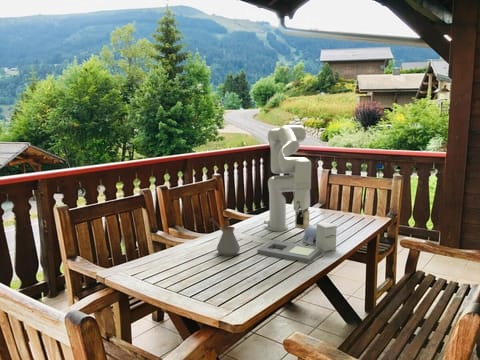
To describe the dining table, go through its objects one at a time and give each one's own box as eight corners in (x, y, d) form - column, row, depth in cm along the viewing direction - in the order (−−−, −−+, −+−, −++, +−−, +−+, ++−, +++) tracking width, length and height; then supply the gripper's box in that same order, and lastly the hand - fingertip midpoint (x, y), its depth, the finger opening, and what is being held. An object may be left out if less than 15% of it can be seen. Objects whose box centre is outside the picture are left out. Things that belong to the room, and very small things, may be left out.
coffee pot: (244, 254, 203) (244, 224, 200) (225, 259, 196) (224, 228, 194) (220, 243, 220) (220, 215, 217) (202, 247, 213) (201, 219, 211)
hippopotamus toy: (315, 247, 212) (316, 229, 210) (297, 239, 225) (298, 222, 223) (331, 243, 217) (332, 226, 216) (313, 236, 230) (313, 219, 228)
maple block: (295, 227, 197) (295, 211, 196) (299, 225, 201) (299, 209, 200) (305, 229, 194) (305, 212, 193) (309, 226, 199) (309, 210, 197)
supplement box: (324, 252, 205) (324, 227, 203) (315, 247, 211) (316, 223, 209) (336, 249, 208) (337, 225, 206) (327, 245, 214) (328, 221, 212)
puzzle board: (257, 253, 204) (257, 248, 203) (271, 244, 217) (271, 240, 217) (309, 263, 190) (309, 258, 190) (321, 252, 204) (321, 248, 203)
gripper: (302, 182, 204) (301, 218, 207) (288, 187, 189) (287, 226, 192) (316, 183, 200) (316, 220, 203) (303, 189, 185) (302, 228, 188)
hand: (302, 222), depth 197 cm, fingers closed on maple block, 5 cm apart
